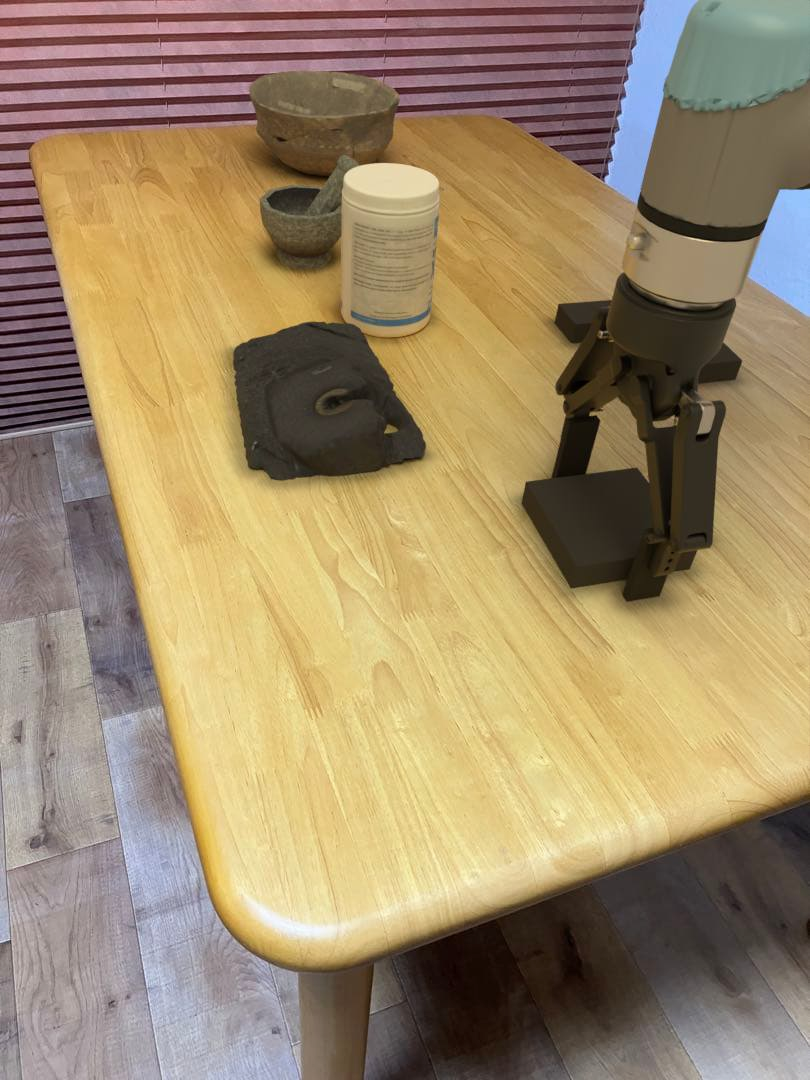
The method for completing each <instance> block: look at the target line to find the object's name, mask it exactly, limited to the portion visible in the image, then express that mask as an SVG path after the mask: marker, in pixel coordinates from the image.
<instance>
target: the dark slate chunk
mask: <svg viewBox="0 0 810 1080" xmlns="http://www.w3.org/2000/svg"><path fill="white" fill-rule="evenodd" d="M232 363H233V367H234V369H233V370H234V371H235V374H234V379H235V380H234V386H235V387H236V388H235V393H236V401H237V405H236V406H237V408H238V411H239V419H240V429H241V435H242V437H243V448H244V449H245V459H246V462H247V466H248V467H250V468H253V469H255V470H259V471H261V470H264V471H265V472H266V474H267V475H268V476H269V479H270V480H275V481H281V482H283V481H289V480H290V481H291V480H296V479H303V478H311V477H315V476H327V477H345V476H352V475H359V474H367V473H373V472H374V473H375V472H378V471H380V470H381V469H382V468H384V467H387V466H392V465H396V464H398V463H404V459H414V458H417V457H418V458H421V457H423V456H424V454H425V451H426V449H427V443H426V441H425V439H424V433H423V432H422V430H421V428H420V427H419V426H418V424H417V423H416V420H415V419H414V417H413V415H412V414H411V413H410V412H409V410H408V409H407V407H406V406H405V404H404V403H403V401H402V400H401V399H400V398H399V397H398V396H397V393H396V391H395V390H394V386H395V385H394V382H393V381H391V378H390V375H389V373H388V371H387V370H386V369H385V368H384V367H383V365H382V364H381V363H380V360H379V357H378V356H377V355H375V353H374V350H373V349H372V348H371V346H370V344H369V342H368V339H367V337H366V334H365V333H362V332H361V329H360V328H358V327H357V326H355V325H353V324H350V323H346V322H344V323H340V322H333V321H332V322H329V323H327V322H326V321H305V322H301V323H299V324H295V325H292V326H288V327H286V328H282V329H280V330H277V331H276V332H275V333H270V334H267V335H263V336H257V337H253V338H249V340H247V341H244V342H241V343H239V344H238V345H237V346H236V347H235V348H234V349H233V360H232ZM388 425H389V426H392V427H393V428H396V429H397V431H393V432H386V431H387V429H388Z"/></svg>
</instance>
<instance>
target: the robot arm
mask: <svg viewBox="0 0 810 1080" xmlns="http://www.w3.org/2000/svg"><path fill="white" fill-rule="evenodd" d="M664 80H665V81H664V83H663V87H662V93H663V95H662V101H661V105H660V108H659V113H658V116H657V120H656V124H655V129H654V134H653V138H652V141H651V145H650V148H649V153H648V157H647V161H646V166H645V170H644V173H643V177H642V182H641V185H640V191H639V195H638V199H637V204H636V209H635V214H634V217H633V220H632V224H631V226H630V231H629V234H628V236H627V237H626V242H625V244H626V246H625V250H624V254H623V257H622V260H621V261H622V262H621V268H622V271H623V272H621V273H620V274H619V276H618V277H617V279H616V281H615V286H614V289H613V294H612V297H611V300H612V301H611V305H610V307H599V308H597V309H596V311H595V314H594V317H593V320H592V323H591V327H590V330H589V332H588V334H587V335H586V337H585V338H584V340H583V341H582V343H579V346H578V348H577V349H576V351H575V352H574V353H573V355H572V357H571V359H570V360H569V362H568V363H567V365H566V367H565V368H564V370H563V371H562V372H561V374H560V376H559V377H558V379H557V380H556V383H555V386H554V388H555V392H556V395H557V396H563V398H564V400H563V402H562V410H563V413H564V414H565V416H564V421H563V425H562V430H561V433H560V441H559V445H558V449H557V453H556V458H555V462H554V466H553V469H552V473H551V478H559V477H567V476H574V475H582V474H587V471H588V468H589V464H590V461H591V457H592V453H593V450H594V445H595V443H596V438H597V435H598V431H599V428H600V424H601V419H600V418H599V416H598V415H597V414H593V415H591V413H596V412H597V413H598V412H604V409H602V408H604V406H606V405H608V404H610V403H611V402H612V401H614V400H615V399H617V398H618V399H619V401H620V402H621V403H622V404H623V405H625V406H627V407H628V409H629V411H630V414H631V415H632V416H633V418H634V419H635V421H636V431H637V437H638V440H640V441H641V442H642V443H644V445H645V446H644V447H645V454H646V455H645V456H646V467H647V475H648V477H647V478H648V482H649V487H650V498H651V508H652V518H653V528H647V529H645V530H644V533H643V536H642V539H641V542H640V545H639V547H638V550H637V553H636V556H635V559H634V562H633V565H632V568H631V570H630V573H629V576H628V579H627V580H626V582H625V585H624V588H623V591H622V593H621V595H622V598H623V599H624V600H625V601H626V603H628V602H633V601H641V600H645V599H646V600H647V599H651V598H658V597H660V596H661V594H662V591H663V588H664V586H665V584H666V581H667V578H668V575H672V574H673V573H675V572H674V571H675V568H676V566H677V563H678V560H679V558H680V556H681V553H682V552H688V551H695V550H697V551H701V550H708V549H710V548H711V547H712V546H713V542H714V541H713V540H714V539H713V538H714V526H715V525H714V524H715V523H714V521H715V506H716V487H717V486H716V485H717V470H718V469H717V468H718V467H717V466H718V454H719V452H718V450H719V439H720V435H721V430H722V427H723V425H724V421H725V418H726V414H727V407H726V404H725V402H724V401H723V400H722V399H718V400H717V399H716V400H707V399H706V398H705V397H703V395H701V394H700V393H699V392H698V391H699V384H698V377H699V372H700V370H701V368H702V367H703V366H704V365H705V364H706V363H707V362H708V361H709V360H710V359H712V358H713V357H714V356H715V355H716V354H717V353H718V352H719V350H720V349H721V347H722V344H723V342H724V341H725V338H726V335H727V332H728V330H729V327H730V324H731V321H732V319H733V316H734V313H735V312H736V311H735V310H736V308H737V301H736V297H738V296H739V295H741V293H742V291H743V290H744V289H745V286H746V283H747V279H748V276H749V274H750V271H751V268H752V265H753V262H754V259H755V256H756V254H757V251H758V248H759V245H760V242H761V240H762V237H763V234H764V230H765V228H766V226H767V223H768V220H769V217H770V216H771V215H770V214H771V212H772V209H773V208H774V204H775V202H776V199H777V198H778V195H779V193H780V190H781V191H782V190H784V191H785V190H786V191H787V190H788V191H794V190H795V191H796V190H797V191H804V190H810V0H697V1H696V2H695V3H694V4H693V5H692V7H690V10H689V12H688V14H687V16H686V20H685V22H684V25H683V29H682V32H681V34H680V36H679V38H678V41H677V44H676V47H675V52H674V54H673V58H672V60H671V65H670V67H669V71H668V74H667V76H666V77H665V79H664ZM613 356H614V358H613V359H612V357H613ZM609 362H610V363H609ZM608 363H609V364H608ZM672 417H674V418H673V426H672V425H671V426H663V427H656V426H655V425H654V423H656V422H657V423H658V422H664V421H667V420H670V419H671V418H672ZM670 519H671V523H669V521H670Z"/></svg>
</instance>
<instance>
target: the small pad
mask: <svg viewBox="0 0 810 1080" xmlns="http://www.w3.org/2000/svg"><path fill="white" fill-rule="evenodd" d="M521 505H522V507H523V509H524V511H525V513H526V514H527V516H528V518H529V519H530V521H531V522H532V524H533V526H534V528H535V530H536V531H537V533H538V534H539V536H540V538H541V540H542V542H543V543H544V545H545V547H546V548H547V550H548V551H549V553H550V555H551V557H552V558H553V560H554V562H555V563H556V565H557V567H558V569H559V571H560V572H561V574H562V576H563V577H564V579H565V581H566V583H567V585H568V586H569V587H570V589H579V588H583V587H590V586H595V585H602V584H608V583H609V584H610V583H614V582H620V581H627V579H628V576H629V573H630V570H631V568H632V565H633V562H634V559H635V556H636V553H637V550H638V547H639V545H640V542H641V539H642V536H643V533H644V530H645V529H647V528H653V518H652V508H651V498H650V487H649V480H647V479H646V477H645V476H644V474H643V473H642V472H641V470H640V469H639V468H638V467H630V468H622V469H621V468H620V469H615V470H606V471H600V472H599V471H598V472H590V473H586V474H582V475H574V476H567V477H559V478H552V477H551V478H544V479H537V480H529V481H525V483H524V489H523V494H522V499H521ZM669 523H671V519H670V521H669ZM697 552H698V550H695V551H688V552H682V553H681V556H680V558H679V560H678V563H677V566H676V568H675V571H674V572H673V573H675V572H680V571H687V570H690V569H691V567H692V565H693V562H694V560H695V557H696V556H697Z"/></svg>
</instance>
